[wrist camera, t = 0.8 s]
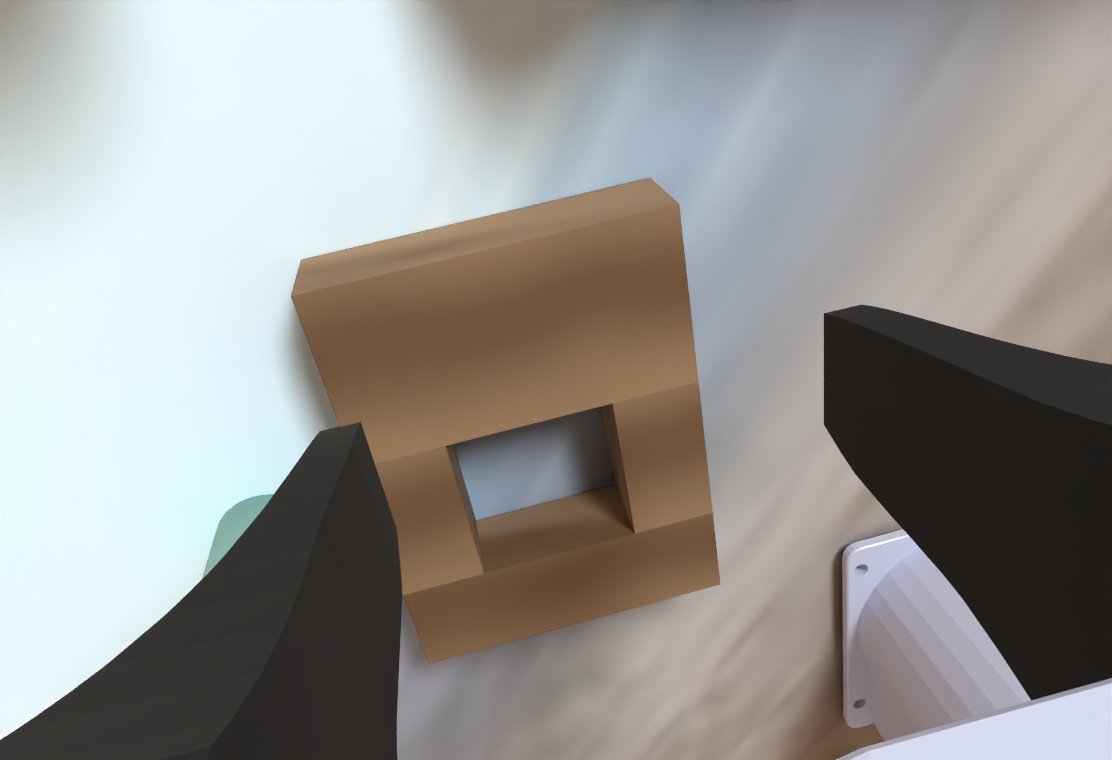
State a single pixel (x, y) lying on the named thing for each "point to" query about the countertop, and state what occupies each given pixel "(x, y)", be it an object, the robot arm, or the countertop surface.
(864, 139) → the countertop surface
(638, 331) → the socket board
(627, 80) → the countertop surface
